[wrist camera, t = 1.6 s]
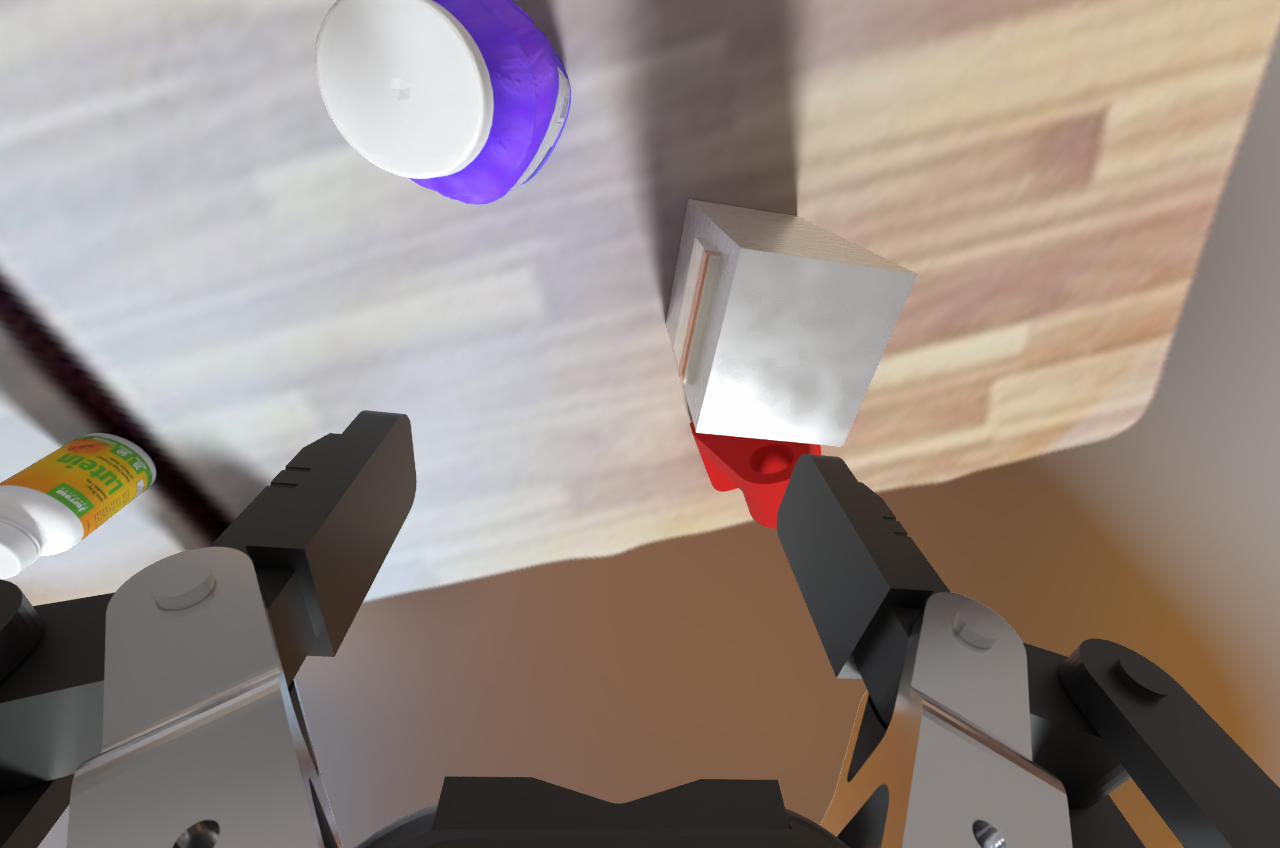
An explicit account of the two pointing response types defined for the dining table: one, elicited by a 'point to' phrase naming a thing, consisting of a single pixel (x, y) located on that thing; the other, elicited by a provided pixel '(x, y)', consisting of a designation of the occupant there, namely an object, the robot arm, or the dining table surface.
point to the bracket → (752, 469)
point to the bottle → (444, 91)
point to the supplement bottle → (68, 497)
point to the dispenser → (778, 323)
